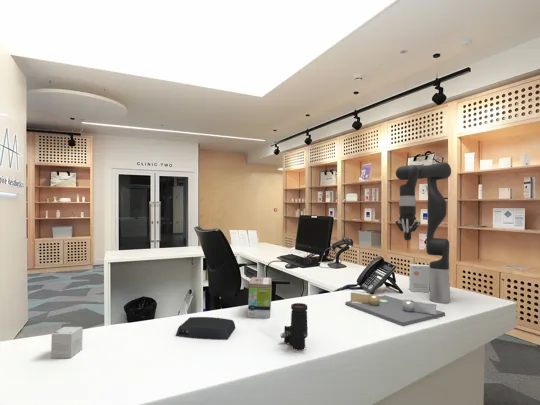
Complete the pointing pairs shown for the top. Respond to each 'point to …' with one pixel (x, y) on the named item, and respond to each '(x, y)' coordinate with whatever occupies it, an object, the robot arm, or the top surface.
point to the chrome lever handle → (419, 307)
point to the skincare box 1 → (66, 342)
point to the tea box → (259, 297)
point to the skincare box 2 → (419, 278)
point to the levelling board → (393, 311)
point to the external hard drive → (206, 328)
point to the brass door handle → (365, 298)
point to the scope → (297, 327)
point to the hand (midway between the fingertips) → (407, 240)
